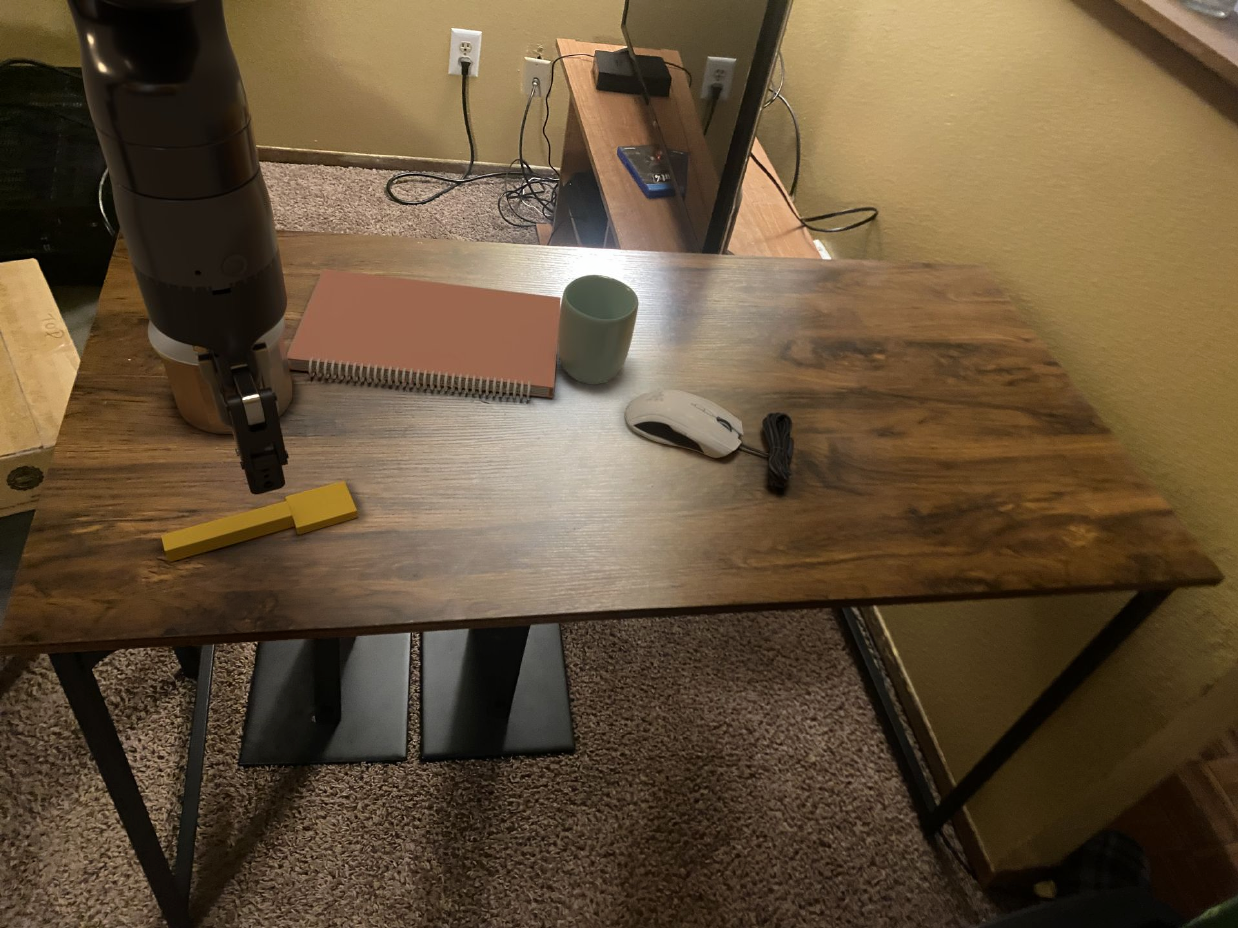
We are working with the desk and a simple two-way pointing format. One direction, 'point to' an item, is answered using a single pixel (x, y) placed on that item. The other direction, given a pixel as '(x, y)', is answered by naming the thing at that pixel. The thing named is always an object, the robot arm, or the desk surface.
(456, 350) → the notebook
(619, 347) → the cup
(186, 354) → the pot lid
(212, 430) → the pot
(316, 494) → the stepped yellow stick
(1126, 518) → the desk surface
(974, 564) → the desk surface
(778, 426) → the computer mouse
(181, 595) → the desk surface
